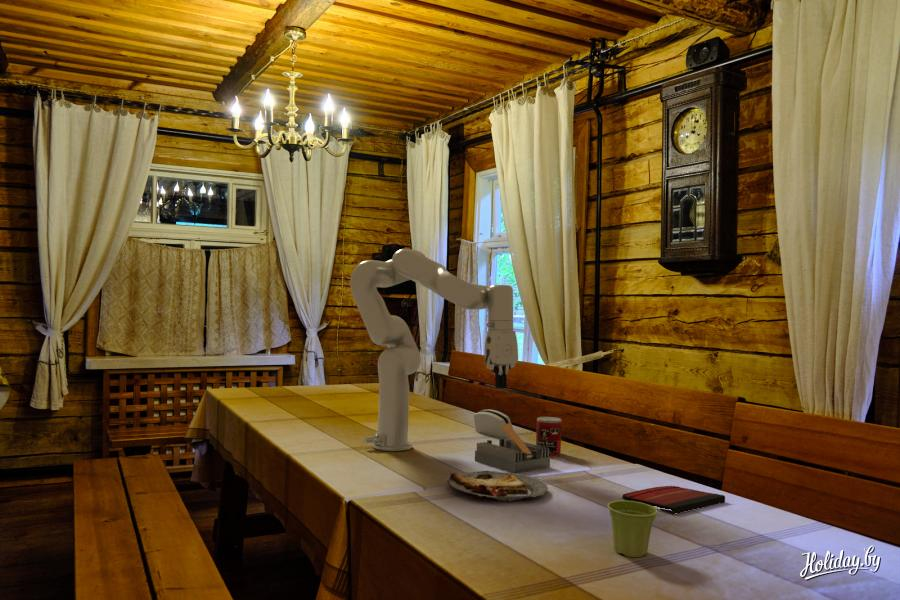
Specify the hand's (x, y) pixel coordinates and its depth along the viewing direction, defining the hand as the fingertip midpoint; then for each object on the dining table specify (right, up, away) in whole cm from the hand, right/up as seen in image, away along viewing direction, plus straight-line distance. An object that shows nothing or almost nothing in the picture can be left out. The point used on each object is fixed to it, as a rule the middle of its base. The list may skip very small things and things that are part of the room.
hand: (500, 387), depth 210 cm
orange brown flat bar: (+4, -15, -5) cm, 16 cm away
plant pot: (+20, -23, -73) cm, 79 cm away
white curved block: (0, -22, +39) cm, 45 cm away
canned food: (+16, -22, +12) cm, 30 cm away
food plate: (-4, -22, -33) cm, 40 cm away
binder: (+40, -24, -36) cm, 58 cm away
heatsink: (+3, -22, -4) cm, 22 cm away
